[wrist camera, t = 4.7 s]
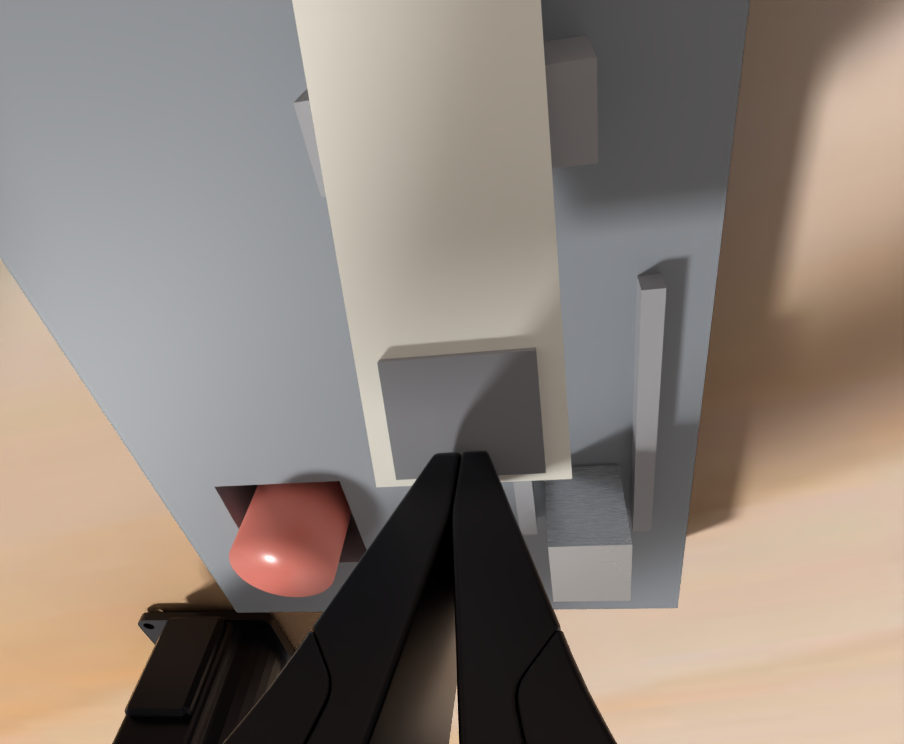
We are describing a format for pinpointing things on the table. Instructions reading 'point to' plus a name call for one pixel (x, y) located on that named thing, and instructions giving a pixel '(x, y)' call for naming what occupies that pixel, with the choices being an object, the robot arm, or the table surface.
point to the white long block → (443, 227)
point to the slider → (589, 536)
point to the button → (292, 538)
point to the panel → (315, 263)
